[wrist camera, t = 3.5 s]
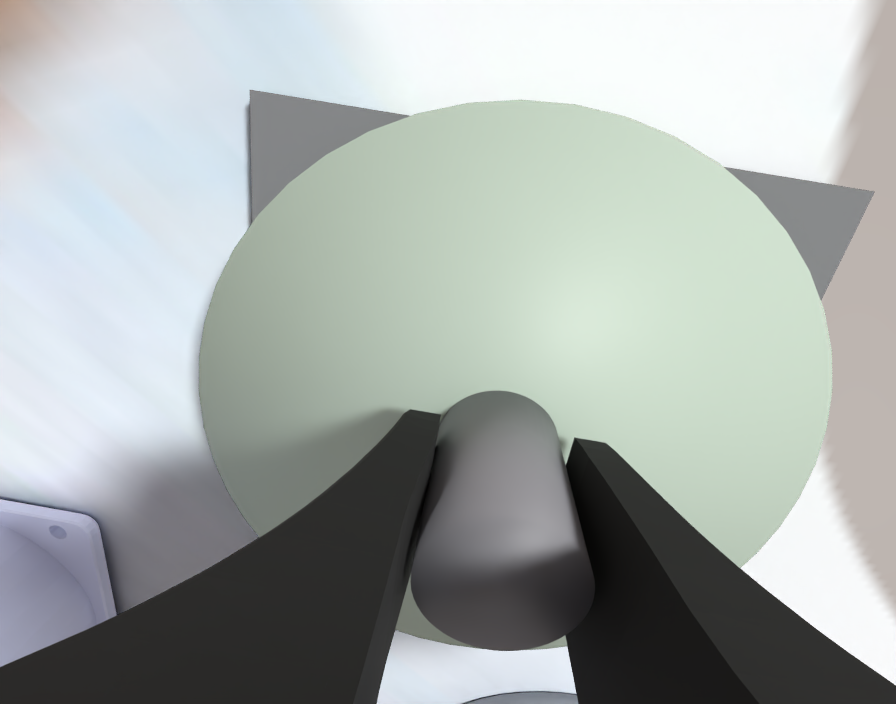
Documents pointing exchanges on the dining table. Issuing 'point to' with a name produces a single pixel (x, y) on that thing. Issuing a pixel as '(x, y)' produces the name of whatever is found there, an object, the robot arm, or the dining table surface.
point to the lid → (518, 348)
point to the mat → (333, 125)
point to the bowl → (529, 698)
